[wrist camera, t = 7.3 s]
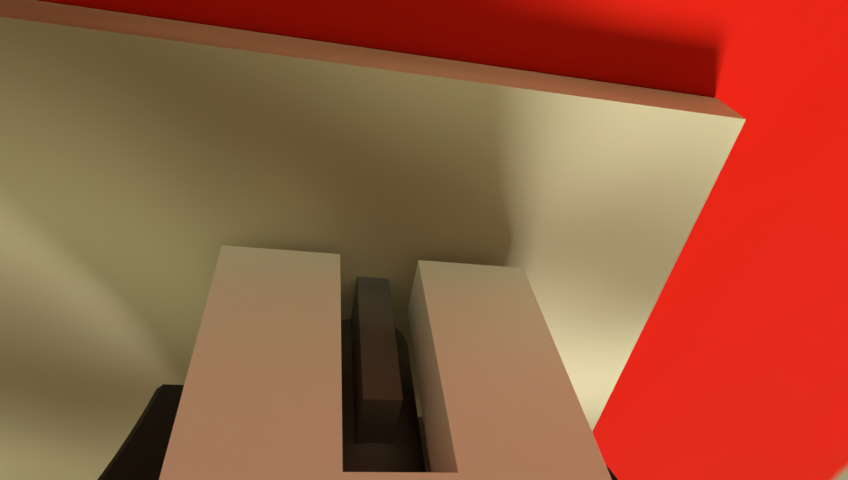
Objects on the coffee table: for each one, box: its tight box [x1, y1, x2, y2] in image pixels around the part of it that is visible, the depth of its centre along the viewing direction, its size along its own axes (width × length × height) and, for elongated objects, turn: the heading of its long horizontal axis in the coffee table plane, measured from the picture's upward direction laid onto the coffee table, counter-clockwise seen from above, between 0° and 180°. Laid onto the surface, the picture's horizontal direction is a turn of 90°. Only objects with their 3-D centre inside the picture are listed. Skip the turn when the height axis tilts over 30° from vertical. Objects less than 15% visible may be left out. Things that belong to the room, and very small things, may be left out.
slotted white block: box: [159, 245, 612, 480], centre depth 10 cm, size 5×5×5 cm
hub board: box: [0, 0, 746, 480], centre depth 12 cm, size 16×22×4 cm
